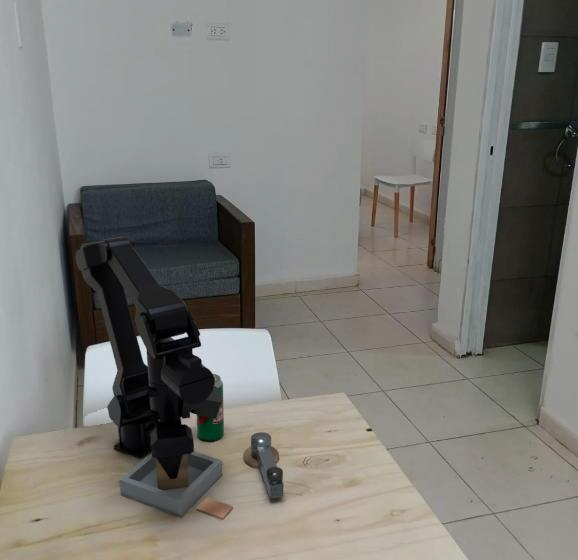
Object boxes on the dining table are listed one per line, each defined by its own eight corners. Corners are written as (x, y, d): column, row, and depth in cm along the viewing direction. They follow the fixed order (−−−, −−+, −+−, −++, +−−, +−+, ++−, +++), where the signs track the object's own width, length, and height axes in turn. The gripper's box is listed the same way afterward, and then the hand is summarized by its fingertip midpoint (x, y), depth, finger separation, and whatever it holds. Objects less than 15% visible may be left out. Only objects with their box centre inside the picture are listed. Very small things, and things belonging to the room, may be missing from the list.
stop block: (156, 476, 105) (154, 435, 102) (186, 472, 106) (184, 431, 103) (157, 491, 101) (155, 449, 98) (188, 486, 102) (186, 445, 100)
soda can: (219, 444, 115) (217, 386, 111) (193, 440, 116) (191, 383, 112) (227, 429, 120) (226, 373, 116) (202, 426, 121) (200, 371, 117)
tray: (120, 494, 101) (119, 479, 100) (165, 456, 111) (164, 441, 110) (181, 517, 96) (180, 501, 95) (222, 475, 106) (222, 460, 105)
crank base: (192, 508, 98) (192, 505, 98) (254, 443, 115) (254, 441, 115) (226, 521, 95) (226, 518, 95) (284, 452, 113) (284, 450, 112)
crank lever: (249, 449, 112) (249, 430, 111) (268, 447, 113) (268, 427, 112) (265, 500, 99) (265, 478, 98) (287, 497, 100) (287, 475, 99)
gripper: (226, 400, 90) (228, 489, 95) (210, 347, 107) (212, 425, 112) (148, 409, 88) (154, 500, 93) (145, 353, 105) (150, 432, 110)
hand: (171, 461), depth 102 cm, fingers open, 9 cm apart
